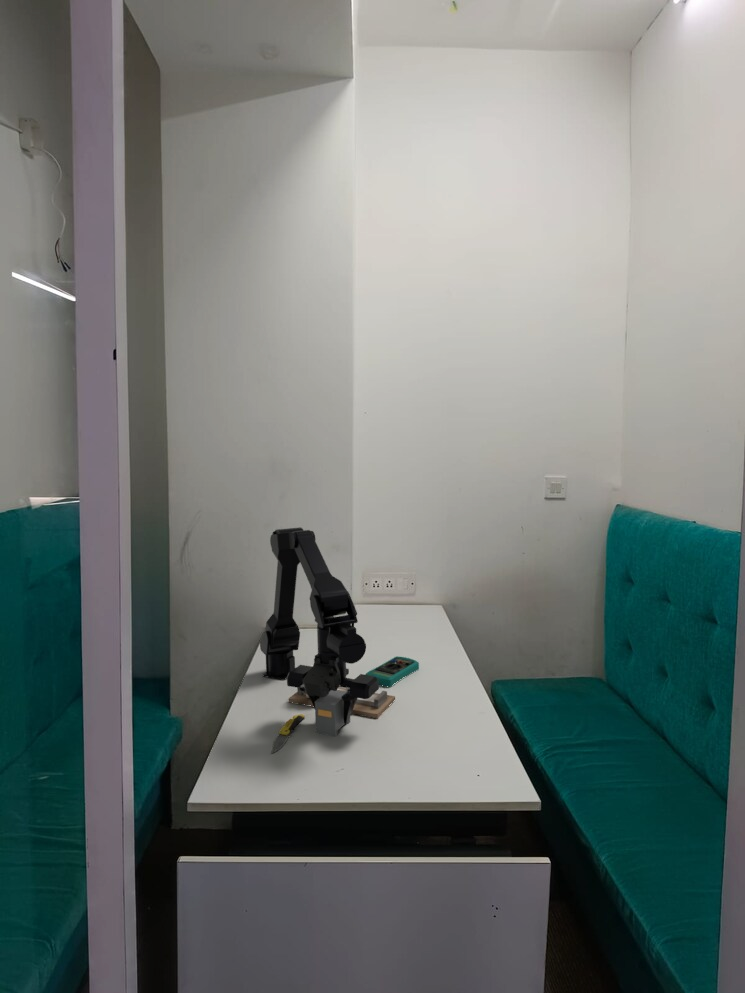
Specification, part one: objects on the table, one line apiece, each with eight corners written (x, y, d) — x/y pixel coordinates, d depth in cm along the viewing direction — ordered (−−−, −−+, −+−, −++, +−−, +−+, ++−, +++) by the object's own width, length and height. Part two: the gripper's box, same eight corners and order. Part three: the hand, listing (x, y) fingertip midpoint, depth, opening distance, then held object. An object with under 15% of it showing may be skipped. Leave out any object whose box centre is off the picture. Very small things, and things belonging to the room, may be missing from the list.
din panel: (288, 702, 148) (287, 669, 147) (310, 686, 157) (309, 654, 156) (377, 718, 139) (377, 683, 138) (395, 700, 148) (394, 667, 147)
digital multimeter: (420, 670, 167) (420, 659, 167) (389, 689, 155) (389, 677, 155) (396, 665, 172) (396, 654, 171) (364, 683, 159) (364, 671, 159)
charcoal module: (315, 732, 133) (314, 701, 132) (331, 718, 139) (330, 688, 139) (334, 736, 131) (334, 705, 130) (350, 721, 138) (349, 691, 137)
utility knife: (281, 751, 124) (266, 750, 125) (281, 757, 124) (266, 756, 125) (305, 714, 140) (291, 713, 140) (305, 719, 140) (291, 718, 141)
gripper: (271, 654, 130) (273, 729, 132) (356, 667, 123) (357, 746, 124) (299, 638, 140) (301, 707, 142) (379, 648, 133) (380, 722, 134)
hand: (333, 720), depth 135 cm, fingers open, 6 cm apart
